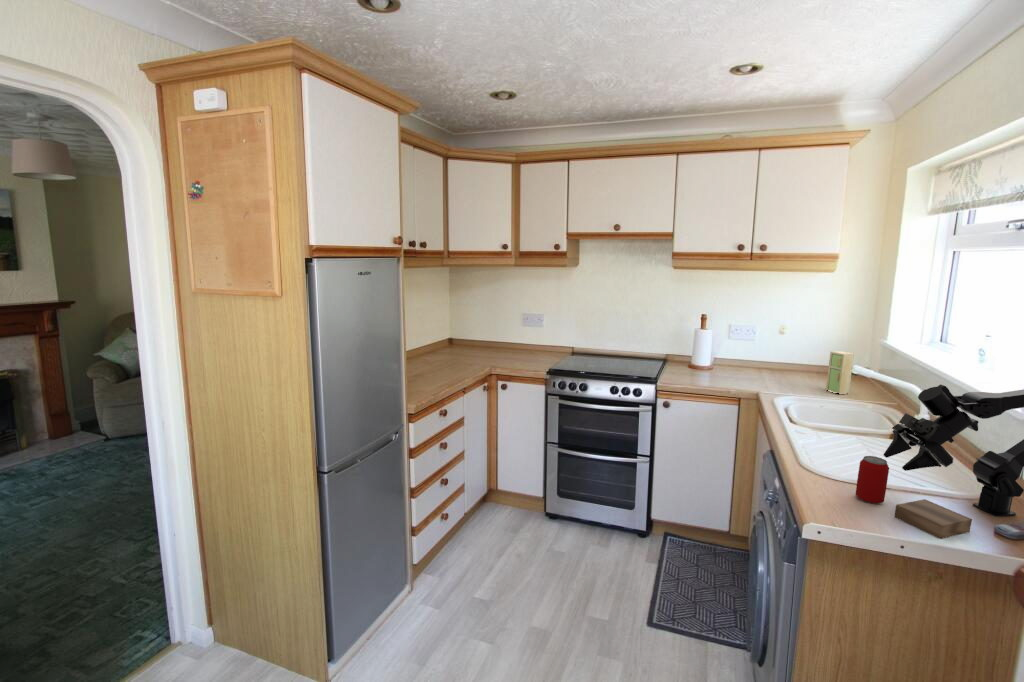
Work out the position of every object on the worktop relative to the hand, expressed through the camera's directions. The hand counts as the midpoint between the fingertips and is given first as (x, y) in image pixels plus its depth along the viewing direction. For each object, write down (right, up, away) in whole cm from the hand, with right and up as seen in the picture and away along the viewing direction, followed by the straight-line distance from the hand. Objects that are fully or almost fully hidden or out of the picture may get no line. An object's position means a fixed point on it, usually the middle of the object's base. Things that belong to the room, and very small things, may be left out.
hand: (893, 462), depth 143 cm
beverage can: (-5, -11, +3) cm, 13 cm away
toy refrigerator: (+60, +7, +120) cm, 135 cm away
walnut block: (+2, -13, -10) cm, 17 cm away
